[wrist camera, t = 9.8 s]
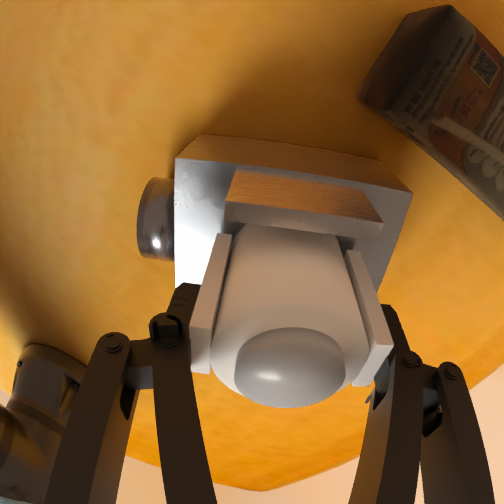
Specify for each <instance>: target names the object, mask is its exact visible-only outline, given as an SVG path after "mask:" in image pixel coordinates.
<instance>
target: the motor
mask: <svg viewBox="0 0 504 504" xmlns="http://www.w3.org/2000/svg"><path fill="white" fill-rule="evenodd" d="M412 194H413V193H412V192H411V191H410V190H409V189H408V188H407V187H406V186H405V185H404V184H403V183H402V182H401V181H400V180H399V179H398V178H397V177H396V176H395V175H394V174H393V173H392V172H391V171H390V170H389V169H388V168H387V167H386V166H385V165H383V164H382V163H381V162H380V161H379V160H375V159H371V158H366V157H361V156H356V155H352V154H347V153H341V152H336V151H331V150H325V149H319V148H314V147H307V146H301V145H295V144H288V143H281V142H274V141H266V140H258V139H250V138H241V137H231V136H221V135H210V134H200V135H199V136H198V137H197V138H196V139H194V140H193V141H192V142H191V143H190V144H189V145H188V146H187V147H186V148H185V149H184V150H183V151H182V152H181V153H180V154H179V155H178V156H177V157H176V158H175V179H169V178H157V177H154V178H152V179H150V181H149V182H148V183H147V185H146V187H145V189H144V191H143V194H142V197H141V201H140V205H139V210H138V217H137V242H138V248H139V251H140V253H141V255H142V256H143V257H144V258H148V259H155V260H163V261H170V262H175V276H176V288H177V287H178V286H179V285H180V284H181V283H182V282H187V283H194V284H202V280H203V277H204V274H205V271H206V267H207V264H208V261H209V258H210V254H211V251H212V248H213V245H214V242H215V238H216V235H217V233H223V234H231V235H232V241H231V247H232V244H233V241H234V239H235V237H236V235H237V234H238V232H239V231H240V230H241V229H242V228H243V227H244V225H246V224H247V223H249V224H257V225H265V226H272V227H280V228H288V229H295V230H303V231H310V232H317V233H324V234H331V235H335V236H336V238H337V240H338V243H339V246H340V249H341V252H342V255H343V258H344V257H345V254H346V251H347V250H353V251H360V253H361V255H362V257H363V260H364V263H365V265H366V268H367V270H368V273H369V275H370V278H371V281H372V283H373V286H374V289H375V291H376V293H377V291H378V289H379V286H380V284H381V281H382V279H383V276H384V274H385V271H386V269H387V266H388V264H389V261H390V258H391V256H392V253H393V250H394V248H395V245H396V242H397V239H398V237H399V234H400V231H401V228H402V225H403V222H404V219H405V216H406V213H407V210H408V207H409V204H410V201H411V198H412Z"/></svg>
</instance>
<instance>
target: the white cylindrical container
mask: <svg viewBox="0 0 504 504" xmlns="http://www.w3.org/2000/svg"><path fill="white" fill-rule="evenodd" d="M368 355H369V346H368V341H367V337H366V333H365V329H364V326H363V322H362V318H361V315H360V311H359V308H358V304H357V301H356V297H355V294H354V291H353V287H352V284H351V281H350V277H349V274H348V271H347V268H346V265H345V261H344V258H343V255H342V252H341V249H340V246H339V243H338V240H337V238H336V236H335V235H331V234H324V233H317V232H310V231H303V230H295V229H288V228H280V227H272V226H265V225H257V224H249V223H247V224H246V225H244V227H243V228H242V229H241V230H240V231H239V232H238V234H237V235H236V237H235V239H234V241H233V244H232V247H231V252H230V256H229V261H228V266H227V270H226V275H225V280H224V284H223V289H222V294H221V299H220V303H219V308H218V313H217V318H216V322H215V327H214V332H213V337H212V342H211V347H210V364H211V367H212V369H213V371H214V373H215V375H216V376H217V377H218V378H219V380H220V381H221V382H222V383H223V384H225V385H226V386H227V387H229V388H230V389H231V390H233V391H235V392H237V393H238V394H241V395H243V396H245V397H247V398H248V399H250V400H252V401H254V402H256V403H259V404H262V405H266V406H271V407H278V408H296V407H303V406H308V405H312V404H315V403H318V402H320V401H323V400H325V399H327V398H328V397H330V396H331V395H333V394H334V393H336V392H338V391H339V390H341V389H343V388H344V387H346V386H347V385H349V384H350V383H351V382H352V381H353V380H355V379H356V378H357V376H358V375H359V374H360V372H361V371H362V369H363V367H364V365H365V364H366V362H367V359H368Z"/></svg>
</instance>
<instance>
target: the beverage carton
mask: <svg viewBox="0 0 504 504" xmlns="http://www.w3.org/2000/svg"><path fill="white" fill-rule="evenodd" d="M356 96H357V98H358V100H359V101H361V102H362V103H363V104H364V105H365V106H367V107H368V108H370V109H371V110H372V111H374V112H375V113H376V114H377V115H379V116H380V117H381V118H383V119H384V120H386V121H387V122H388V123H390V124H391V125H392V126H394V127H395V128H396V129H398V130H399V131H400V132H402V133H403V134H404V135H405V136H406V137H408V138H409V139H410V140H412V141H413V142H414V143H415V144H417V145H418V146H419V147H421V148H422V149H423V150H424V151H425V152H427V153H428V154H429V155H430V156H431V157H433V158H434V159H435V160H436V161H437V162H439V163H440V164H441V165H442V166H443V167H444V168H446V169H447V170H448V171H449V172H450V173H451V174H452V175H453V176H455V177H456V178H457V179H458V180H459V181H460V182H461V183H463V184H464V185H465V186H466V187H467V188H468V189H469V190H470V191H471V192H472V193H473V194H475V195H476V196H477V197H478V198H479V199H480V200H481V201H483V202H484V203H485V204H486V205H487V206H488V207H489V208H490V209H491V210H493V211H494V212H495V213H496V214H497V215H498V216H499V217H500V218H501V219H502V220H503V221H504V57H503V56H502V55H501V54H500V53H499V51H498V50H497V49H496V48H495V47H494V46H493V45H492V44H491V43H490V42H489V40H488V39H487V38H486V37H485V36H484V35H483V34H482V33H481V32H480V31H479V30H478V29H477V28H476V27H475V26H474V25H473V24H472V23H471V22H469V21H468V20H467V19H466V18H465V17H464V16H462V15H461V14H460V13H459V12H458V11H457V10H456V9H455V8H454V7H453V6H452V5H444V6H438V7H432V8H428V9H425V10H421V11H418V12H413V13H409V14H407V15H406V17H405V18H404V20H403V21H402V23H401V24H400V26H399V27H398V29H397V30H396V32H395V34H394V35H393V37H392V38H391V40H390V41H389V43H388V44H387V46H386V47H385V49H384V50H383V52H382V53H381V55H380V56H379V58H378V59H377V61H376V62H375V64H374V65H373V67H372V69H371V70H370V72H369V73H368V75H367V76H366V78H365V80H364V81H363V83H362V84H361V86H360V87H359V89H358V91H357V93H356Z"/></svg>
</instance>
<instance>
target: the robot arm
mask: <svg viewBox="0 0 504 504" xmlns="http://www.w3.org/2000/svg"><path fill="white" fill-rule="evenodd" d="M231 241H232V235H231V234H223V233H217V235H216V238H215V242H214V245H213V248H212V251H211V254H210V258H209V261H208V264H207V267H206V271H205V274H204V277H203V280H202V284H194V283H187V282H182V283H181V284H180V285H179V286H178V287H177V288H176V289H175V291H174V294H173V296H172V299H171V301H170V305H169V307H168V309H167V312H165V313H160V314H158V315H156V316H154V317H153V318H152V319H151V320H150V323H149V332H150V338H148V339H143V340H132V341H130V340H129V338H128V337H127V336H126V335H124V334H122V333H119V332H111V333H108V334H105V335H104V336H102V337H101V338H100V339H99V341H98V342H97V344H96V347H95V349H94V352H93V354H92V356H91V359H90V361H89V364H88V366H87V368H86V367H85V366H84V365H82V364H81V363H79V362H78V361H76V360H75V359H73V358H72V357H70V356H68V355H66V354H64V353H63V352H60V351H58V350H56V349H54V348H51V347H48V346H45V345H40V344H31V345H28V346H26V347H25V349H24V350H23V352H22V354H21V355H20V357H19V359H18V362H17V368H16V372H15V377H14V383H13V389H12V395H11V398H10V400H9V402H8V404H7V406H6V408H5V407H4V406H3V405H1V404H0V504H116V499H117V493H118V487H119V481H120V477H121V471H122V467H123V462H124V457H125V452H126V447H127V443H128V438H129V433H130V429H131V425H132V420H133V416H134V412H135V408H136V404H137V399H138V395H139V391H140V389H153V390H154V404H155V416H156V426H157V436H158V445H159V453H160V461H161V469H162V476H163V483H164V489H165V495H166V501H167V504H217V500H216V496H215V492H214V488H213V484H212V479H211V474H210V470H209V465H208V461H207V456H206V451H205V446H204V441H203V436H202V431H201V426H200V420H199V415H198V409H197V403H196V397H195V392H194V385H193V379H192V373H191V372H197V373H203V374H210V369H211V364H210V347H211V342H212V337H213V332H214V327H215V322H216V318H217V313H218V308H219V303H220V299H221V294H222V289H223V284H224V280H225V275H226V270H227V266H228V261H229V256H230V252H231ZM344 261H345V265H346V268H347V271H348V274H349V277H350V281H351V284H352V287H353V291H354V294H355V297H356V301H357V304H358V308H359V311H360V315H361V318H362V322H363V326H364V329H365V333H366V337H367V341H368V346H369V355H368V359H367V362H366V364H365V365H364V367H363V369H362V371H361V372H360V374H359V375H358V376H357V378H356V379H355V380H353V381H352V385H353V386H369V385H370V383H371V382H372V380H373V379H374V382H375V388H374V389H373V391H372V392H371V393H370V395H369V396H368V398H367V399H366V401H365V403H368V402H369V400H370V399H371V400H370V406H369V413H368V418H367V424H366V429H365V435H364V440H363V445H362V450H361V454H360V459H359V464H358V468H357V472H356V476H355V480H354V484H353V488H352V492H351V496H350V499H349V503H348V504H414V502H415V495H416V488H417V481H418V473H419V463H420V465H421V473H422V481H423V492H424V503H425V504H495V500H494V493H493V487H492V481H491V476H490V471H489V466H488V461H487V456H486V452H485V448H484V444H483V440H482V436H481V432H480V428H479V425H478V421H477V417H476V414H475V410H474V407H473V404H472V400H471V397H470V394H469V391H468V388H467V385H466V382H465V379H464V376H463V373H462V371H461V369H460V368H459V367H458V366H457V365H456V364H454V363H452V362H443V363H442V364H440V366H439V367H438V368H436V367H432V366H429V365H426V364H423V362H422V360H421V358H420V357H419V355H417V354H416V353H415V352H413V351H410V348H409V345H408V342H407V340H406V337H405V334H404V331H403V329H402V326H401V323H400V322H399V318H398V316H397V313H396V311H395V310H394V309H393V308H392V307H391V306H390V305H387V304H380V302H379V299H378V297H377V294H376V291H375V289H374V286H373V283H372V281H371V278H370V275H369V273H368V270H367V268H366V265H365V263H364V260H363V257H362V255H361V253H360V251H353V250H347V251H346V254H345V257H344ZM440 406H441V409H440ZM441 410H442V411H441Z"/></svg>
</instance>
